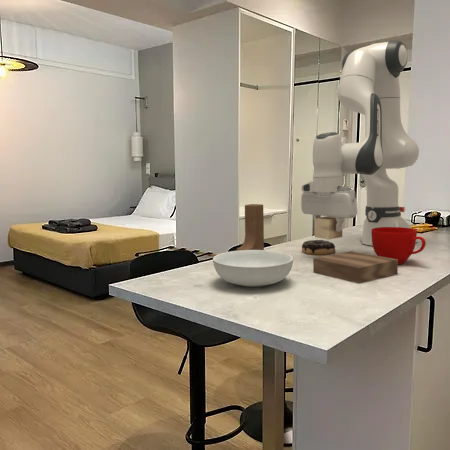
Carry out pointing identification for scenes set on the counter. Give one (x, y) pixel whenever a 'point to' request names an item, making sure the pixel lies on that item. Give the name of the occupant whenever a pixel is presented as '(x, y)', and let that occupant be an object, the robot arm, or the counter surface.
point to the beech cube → (326, 228)
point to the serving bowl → (253, 267)
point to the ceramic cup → (395, 242)
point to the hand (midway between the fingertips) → (328, 230)
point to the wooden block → (253, 228)
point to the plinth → (355, 266)
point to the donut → (318, 247)
